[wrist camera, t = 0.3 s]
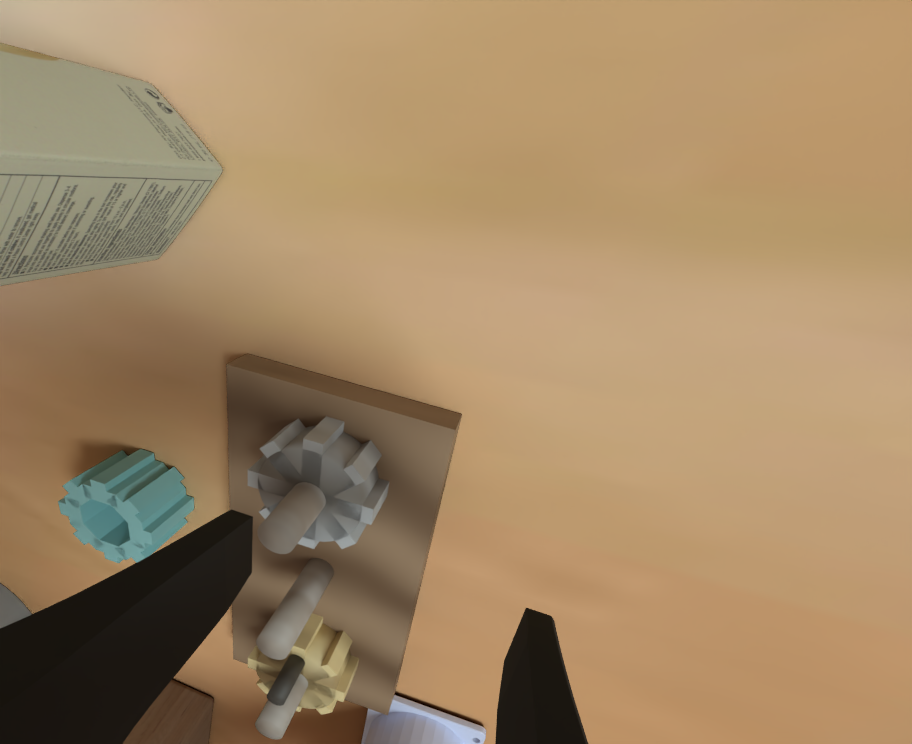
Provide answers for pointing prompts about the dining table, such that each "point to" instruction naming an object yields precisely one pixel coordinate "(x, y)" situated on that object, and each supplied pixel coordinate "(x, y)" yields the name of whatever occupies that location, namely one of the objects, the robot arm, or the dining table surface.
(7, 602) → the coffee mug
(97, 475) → the teal gear
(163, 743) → the wooden block
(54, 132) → the skincare box
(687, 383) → the dining table surface
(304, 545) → the gear board
